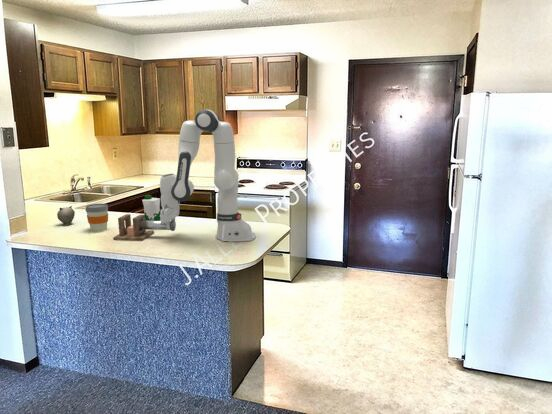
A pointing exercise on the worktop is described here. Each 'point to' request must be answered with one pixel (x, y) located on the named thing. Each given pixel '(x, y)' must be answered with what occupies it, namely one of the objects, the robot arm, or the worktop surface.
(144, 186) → the worktop surface
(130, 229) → the spacer
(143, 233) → the bearing block
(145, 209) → the milk carton
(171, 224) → the shaft
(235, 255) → the worktop surface
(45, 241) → the worktop surface
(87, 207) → the reusable coffee cup
